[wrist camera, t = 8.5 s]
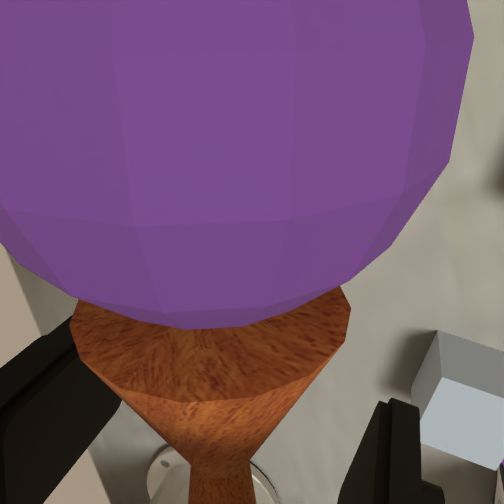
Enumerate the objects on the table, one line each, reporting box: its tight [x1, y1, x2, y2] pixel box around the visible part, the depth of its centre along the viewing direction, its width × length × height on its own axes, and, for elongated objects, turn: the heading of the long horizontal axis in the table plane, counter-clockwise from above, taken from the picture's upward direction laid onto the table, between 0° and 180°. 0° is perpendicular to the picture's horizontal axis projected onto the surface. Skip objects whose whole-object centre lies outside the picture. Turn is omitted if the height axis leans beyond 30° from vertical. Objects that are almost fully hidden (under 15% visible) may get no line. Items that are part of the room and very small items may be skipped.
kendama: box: [0, 0, 474, 504], centre depth 9 cm, size 6×6×20 cm
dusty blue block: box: [411, 330, 504, 471], centre depth 29 cm, size 5×5×5 cm
